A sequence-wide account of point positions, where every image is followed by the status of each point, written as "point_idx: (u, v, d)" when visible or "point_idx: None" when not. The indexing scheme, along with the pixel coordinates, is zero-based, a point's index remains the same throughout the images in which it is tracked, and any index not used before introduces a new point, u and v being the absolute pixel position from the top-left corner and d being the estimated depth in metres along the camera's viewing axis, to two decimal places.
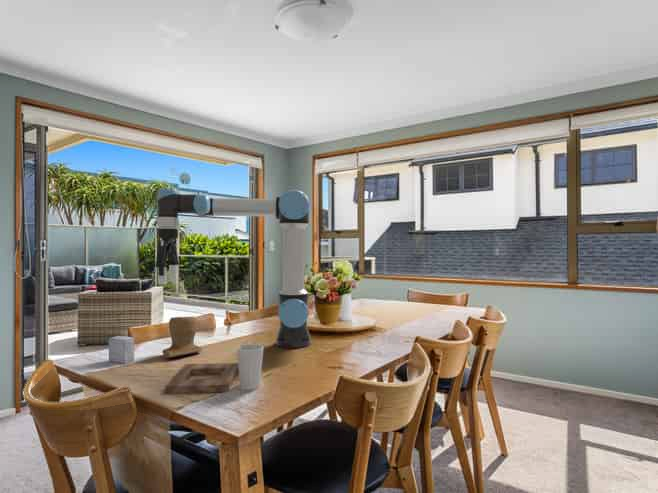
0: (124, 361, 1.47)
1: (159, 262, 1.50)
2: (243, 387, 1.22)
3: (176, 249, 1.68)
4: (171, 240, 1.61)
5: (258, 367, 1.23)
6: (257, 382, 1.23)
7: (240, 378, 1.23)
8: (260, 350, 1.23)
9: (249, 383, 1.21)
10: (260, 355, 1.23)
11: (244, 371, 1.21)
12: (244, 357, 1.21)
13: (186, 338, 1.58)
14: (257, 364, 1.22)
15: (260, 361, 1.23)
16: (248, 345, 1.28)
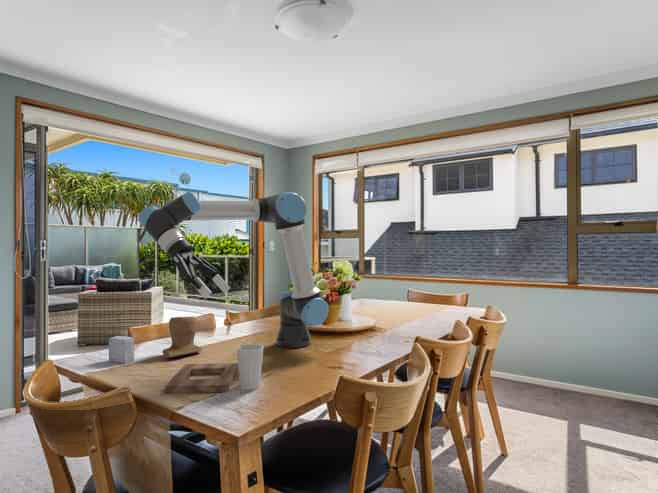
0: (124, 361, 1.47)
1: None
2: (243, 387, 1.22)
3: None
4: (189, 253, 1.34)
5: (258, 367, 1.23)
6: (257, 382, 1.23)
7: (240, 378, 1.23)
8: (260, 350, 1.23)
9: (249, 383, 1.21)
10: (260, 355, 1.23)
11: (244, 371, 1.21)
12: (244, 357, 1.21)
13: (186, 338, 1.58)
14: (257, 364, 1.22)
15: (260, 361, 1.23)
16: (248, 345, 1.28)
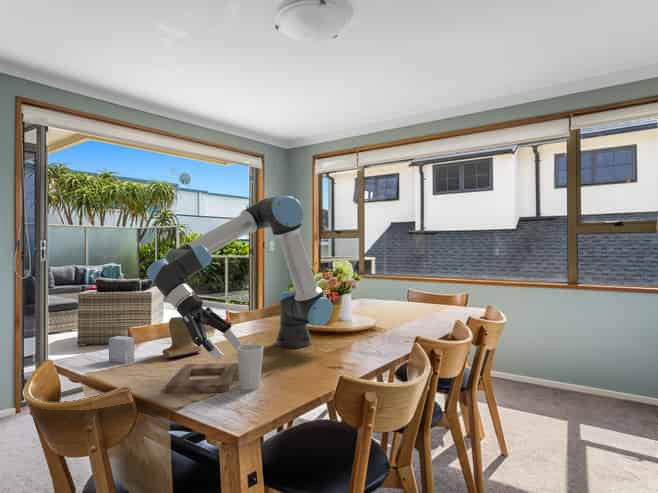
0: (124, 361, 1.47)
1: (196, 339, 1.16)
2: (243, 387, 1.22)
3: (216, 314, 1.34)
4: (199, 309, 1.28)
5: (258, 367, 1.23)
6: (257, 382, 1.23)
7: (240, 378, 1.23)
8: (260, 350, 1.23)
9: (249, 383, 1.21)
10: (260, 355, 1.23)
11: (244, 371, 1.21)
12: (244, 357, 1.21)
13: (186, 338, 1.58)
14: (257, 364, 1.22)
15: (260, 361, 1.23)
16: (248, 345, 1.28)
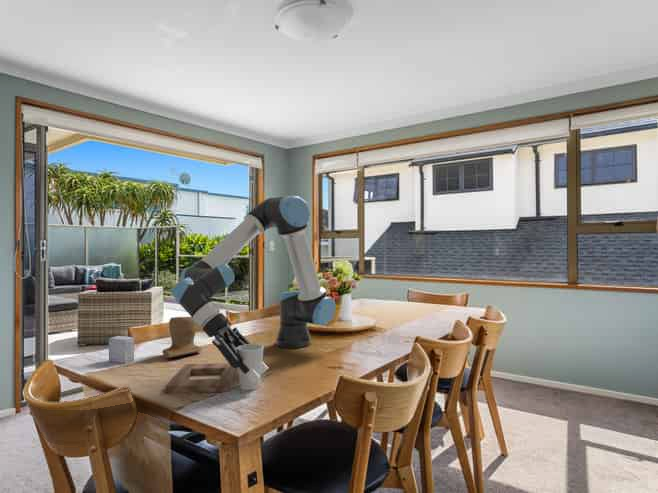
0: (124, 361, 1.47)
1: (233, 361, 1.18)
2: (243, 387, 1.22)
3: (242, 335, 1.32)
4: (224, 326, 1.28)
5: (258, 367, 1.23)
6: (257, 382, 1.23)
7: (240, 378, 1.23)
8: (260, 350, 1.23)
9: (249, 383, 1.21)
10: (260, 355, 1.23)
11: None
12: (244, 357, 1.21)
13: (186, 338, 1.58)
14: (257, 364, 1.22)
15: (260, 361, 1.23)
16: (248, 345, 1.28)
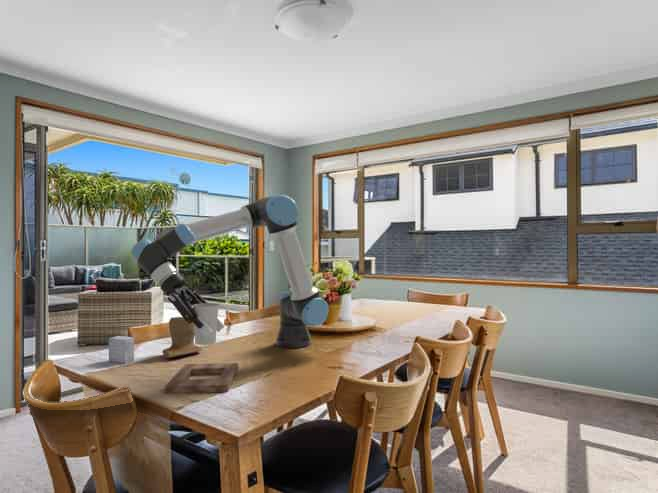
0: (124, 361, 1.47)
1: (187, 316, 1.24)
2: (198, 342, 1.27)
3: None
4: (182, 286, 1.33)
5: (212, 323, 1.28)
6: (212, 338, 1.28)
7: (195, 334, 1.28)
8: (214, 307, 1.28)
9: (203, 338, 1.27)
10: (214, 312, 1.28)
11: None
12: (199, 313, 1.26)
13: (186, 338, 1.58)
14: (211, 320, 1.28)
15: (215, 318, 1.29)
16: (205, 304, 1.34)
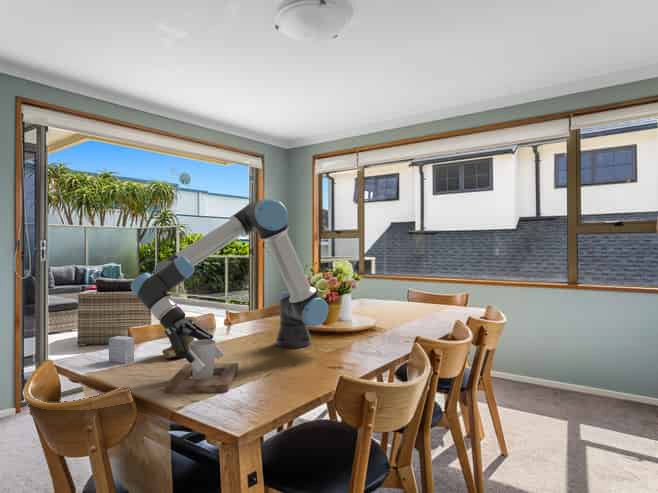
0: (124, 361, 1.47)
1: (178, 350, 1.21)
2: None
3: (199, 325, 1.39)
4: (182, 321, 1.33)
5: (210, 361, 1.28)
6: (209, 375, 1.28)
7: (193, 372, 1.28)
8: (211, 345, 1.28)
9: (201, 376, 1.27)
10: (211, 350, 1.28)
11: None
12: (195, 352, 1.26)
13: (186, 338, 1.58)
14: (208, 358, 1.28)
15: (212, 355, 1.29)
16: (202, 341, 1.34)
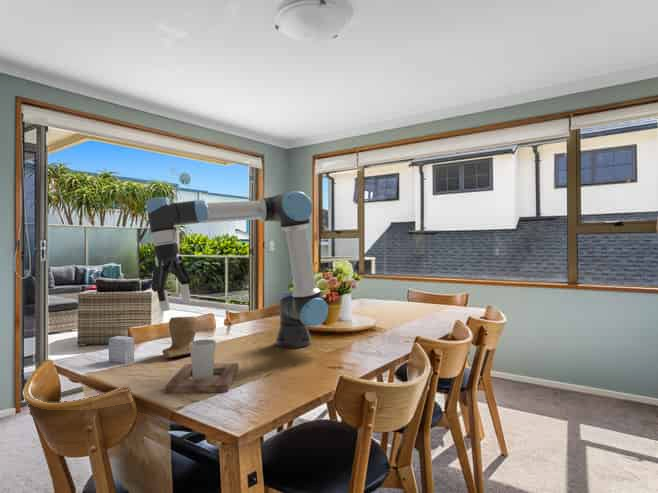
0: (124, 361, 1.47)
1: (155, 286, 1.27)
2: None
3: (184, 265, 1.44)
4: (172, 257, 1.37)
5: (210, 361, 1.28)
6: (209, 375, 1.28)
7: (193, 372, 1.28)
8: (211, 345, 1.28)
9: (201, 376, 1.27)
10: (212, 349, 1.29)
11: (196, 365, 1.27)
12: (196, 351, 1.26)
13: (186, 338, 1.58)
14: (208, 358, 1.28)
15: (212, 355, 1.29)
16: (202, 341, 1.34)
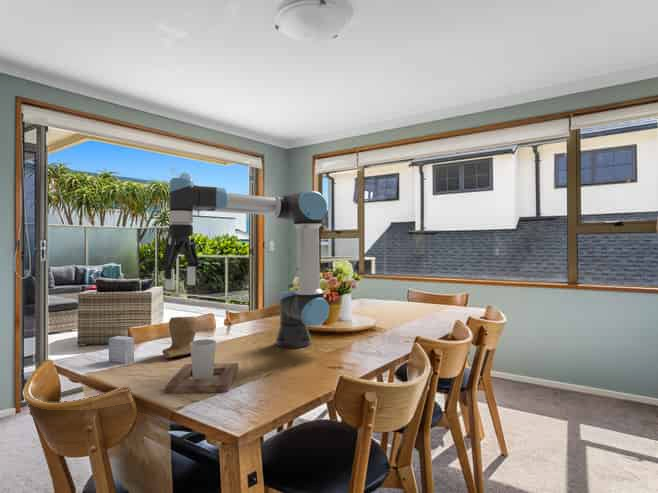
0: (124, 361, 1.47)
1: (164, 263, 1.28)
2: None
3: (195, 248, 1.45)
4: (185, 238, 1.39)
5: (210, 361, 1.28)
6: (209, 375, 1.28)
7: (193, 372, 1.28)
8: (212, 345, 1.28)
9: (201, 377, 1.27)
10: (212, 350, 1.28)
11: (197, 365, 1.27)
12: (196, 352, 1.26)
13: (186, 338, 1.58)
14: (209, 359, 1.28)
15: (212, 355, 1.29)
16: (202, 341, 1.33)
